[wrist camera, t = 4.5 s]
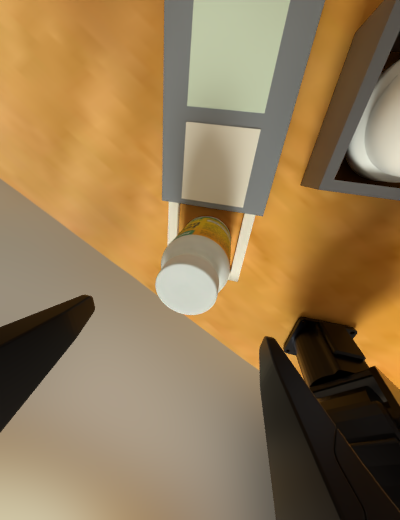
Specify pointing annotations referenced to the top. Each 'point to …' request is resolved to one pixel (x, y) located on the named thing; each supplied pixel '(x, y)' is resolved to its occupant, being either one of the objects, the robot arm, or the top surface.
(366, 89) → the dome housing
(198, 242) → the supplement bottle
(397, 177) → the dome
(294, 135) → the top surface
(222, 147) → the game board
